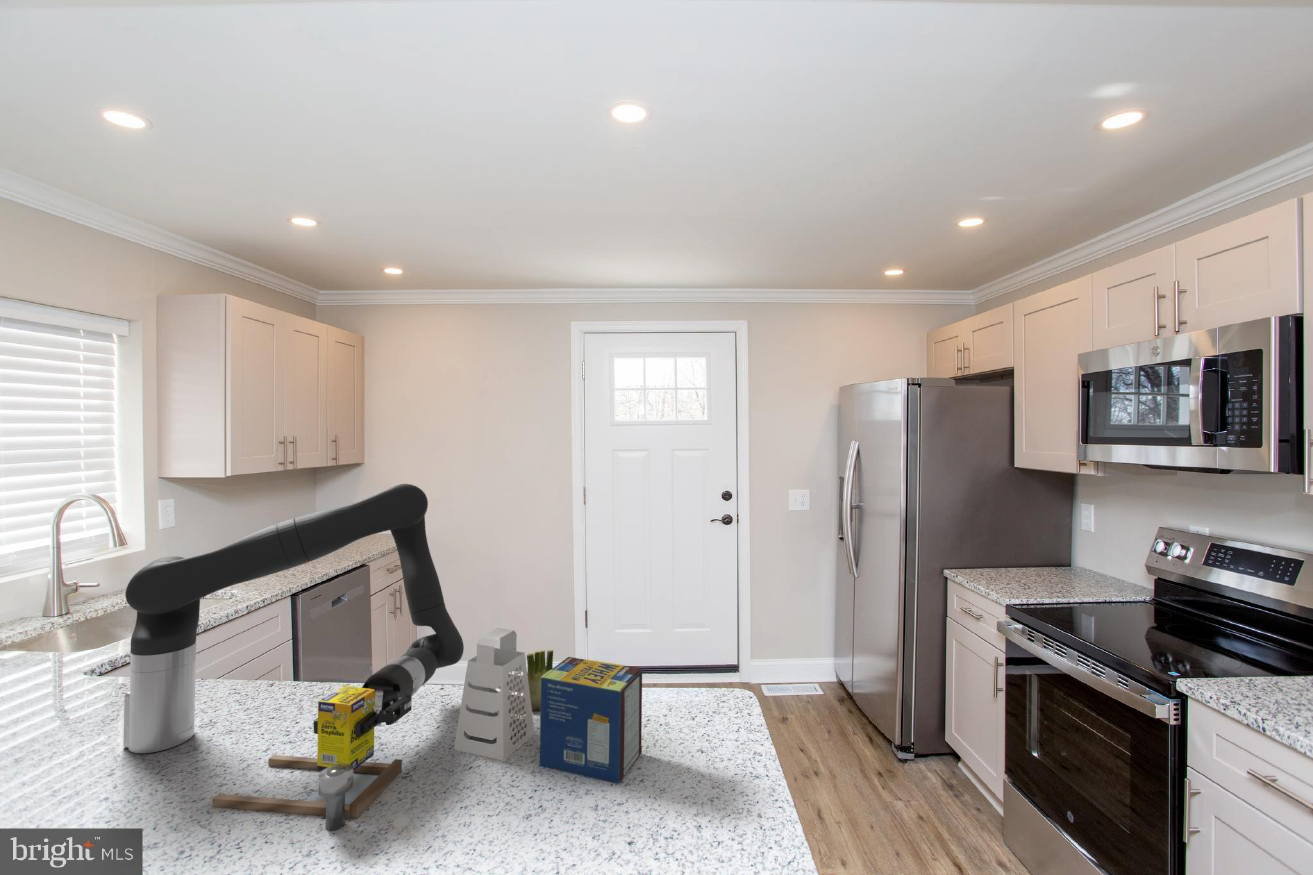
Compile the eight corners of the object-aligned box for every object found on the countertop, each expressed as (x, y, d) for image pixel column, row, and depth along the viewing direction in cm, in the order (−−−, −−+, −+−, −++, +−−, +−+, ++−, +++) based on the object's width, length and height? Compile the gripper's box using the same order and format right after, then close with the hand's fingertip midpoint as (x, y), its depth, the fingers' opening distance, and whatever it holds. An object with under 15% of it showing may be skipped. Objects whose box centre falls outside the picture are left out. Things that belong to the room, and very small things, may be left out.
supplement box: (349, 775, 90) (350, 704, 90) (316, 771, 91) (316, 701, 91) (375, 755, 96) (376, 688, 96) (343, 750, 97) (344, 684, 97)
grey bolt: (310, 834, 83) (311, 777, 83) (330, 814, 87) (331, 760, 87) (339, 836, 82) (340, 779, 82) (358, 816, 87) (359, 762, 87)
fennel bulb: (553, 702, 126) (554, 646, 126) (552, 713, 121) (553, 654, 121) (525, 703, 125) (526, 647, 125) (523, 714, 120) (524, 655, 120)
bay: (212, 806, 89) (212, 793, 89) (273, 761, 101) (273, 750, 101) (357, 818, 86) (357, 804, 86) (401, 771, 99) (401, 759, 99)
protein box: (566, 737, 111) (567, 655, 111) (642, 753, 106) (643, 667, 106) (537, 766, 101) (538, 676, 101) (619, 785, 96) (621, 690, 96)
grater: (534, 732, 112) (536, 628, 113) (503, 760, 103) (505, 646, 103) (488, 723, 116) (490, 622, 116) (453, 749, 106) (455, 638, 106)
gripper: (358, 661, 108) (293, 703, 92) (432, 665, 107) (381, 708, 90) (358, 702, 108) (293, 750, 92) (432, 706, 107) (380, 756, 90)
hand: (337, 729), depth 91 cm, fingers closed on supplement box, 6 cm apart
